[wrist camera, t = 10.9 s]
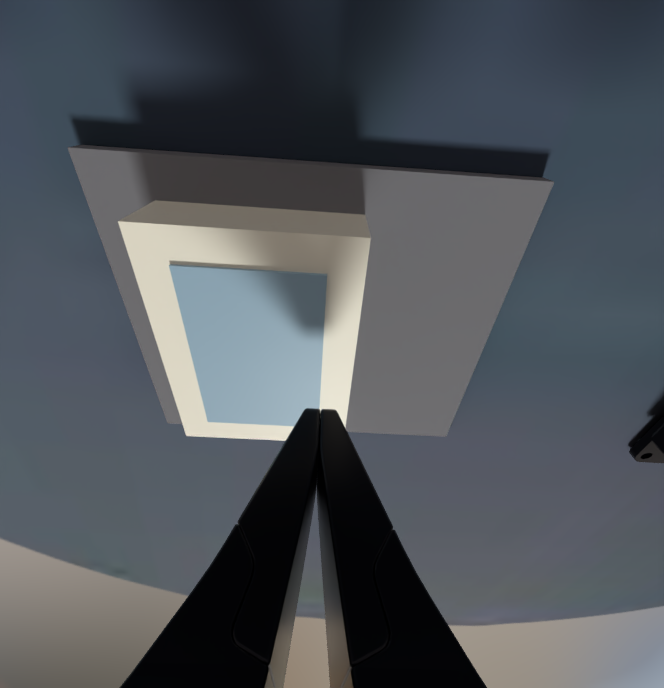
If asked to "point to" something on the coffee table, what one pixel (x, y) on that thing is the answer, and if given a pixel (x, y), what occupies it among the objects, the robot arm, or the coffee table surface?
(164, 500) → the coffee table surface
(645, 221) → the coffee table surface
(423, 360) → the mat
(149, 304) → the cream rectangular frame
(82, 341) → the coffee table surface
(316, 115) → the coffee table surface
